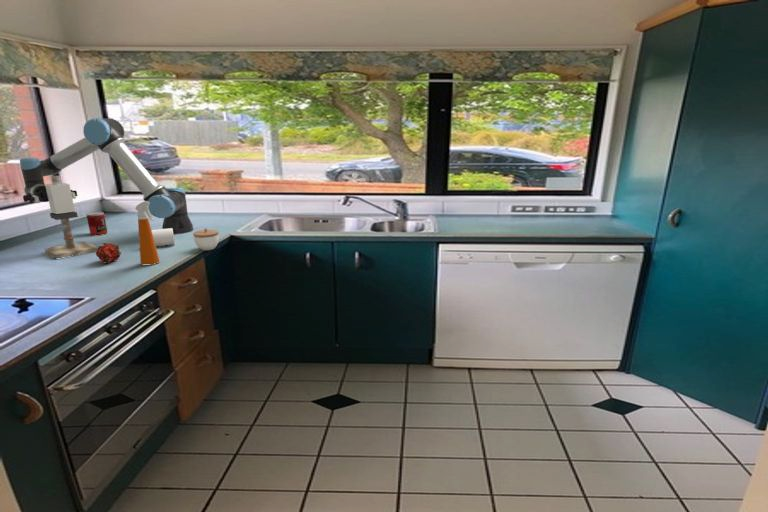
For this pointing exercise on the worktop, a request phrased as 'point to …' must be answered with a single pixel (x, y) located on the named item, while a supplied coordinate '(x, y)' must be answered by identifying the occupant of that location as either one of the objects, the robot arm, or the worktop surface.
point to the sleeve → (60, 198)
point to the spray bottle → (146, 235)
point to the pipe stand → (68, 238)
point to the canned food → (97, 223)
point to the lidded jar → (206, 239)
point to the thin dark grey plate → (63, 215)
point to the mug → (163, 237)
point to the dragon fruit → (108, 252)
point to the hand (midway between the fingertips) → (56, 197)
